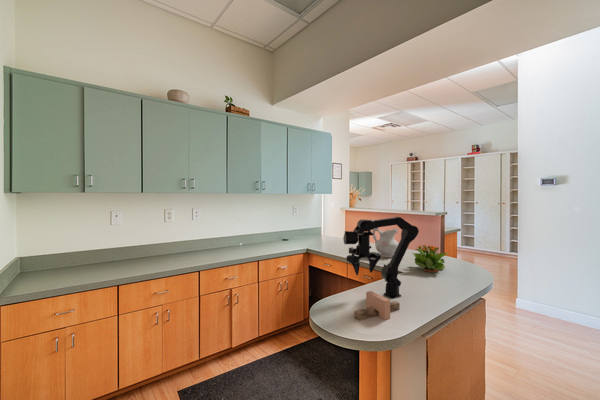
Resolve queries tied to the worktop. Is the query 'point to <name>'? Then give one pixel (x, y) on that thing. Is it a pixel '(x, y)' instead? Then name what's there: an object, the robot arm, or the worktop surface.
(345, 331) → the worktop surface
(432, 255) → the potted flower
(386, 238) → the ceramic pitcher
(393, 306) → the brown rail
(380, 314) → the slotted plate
